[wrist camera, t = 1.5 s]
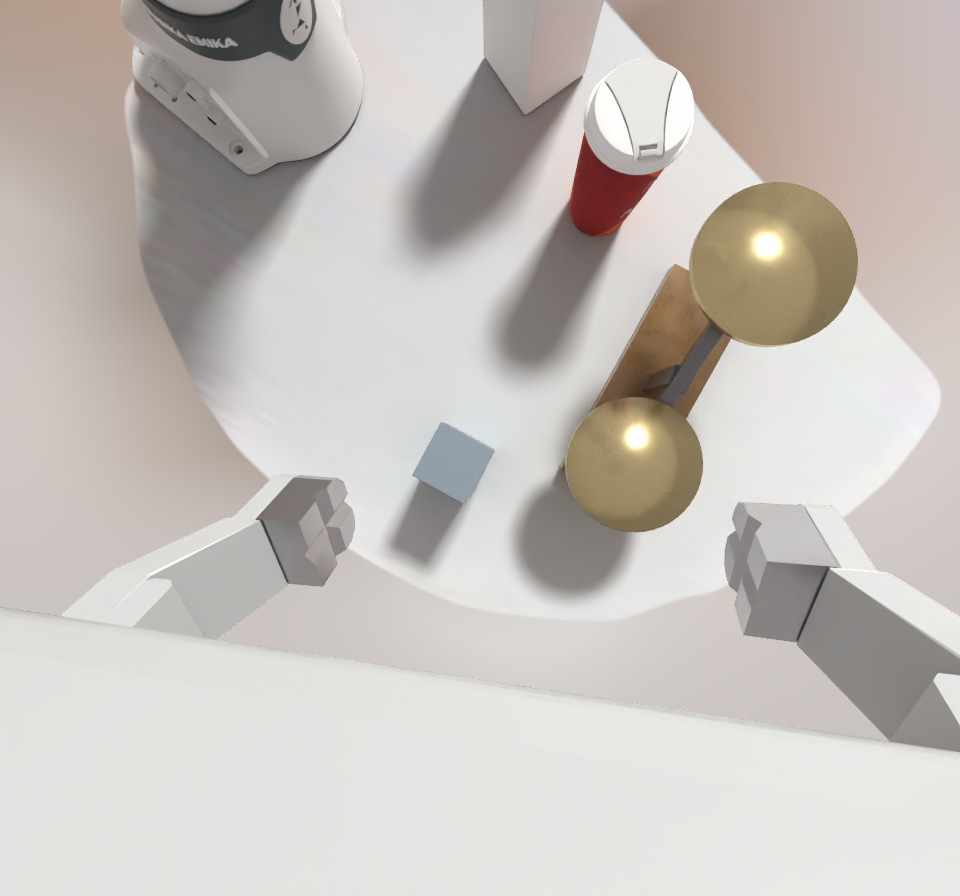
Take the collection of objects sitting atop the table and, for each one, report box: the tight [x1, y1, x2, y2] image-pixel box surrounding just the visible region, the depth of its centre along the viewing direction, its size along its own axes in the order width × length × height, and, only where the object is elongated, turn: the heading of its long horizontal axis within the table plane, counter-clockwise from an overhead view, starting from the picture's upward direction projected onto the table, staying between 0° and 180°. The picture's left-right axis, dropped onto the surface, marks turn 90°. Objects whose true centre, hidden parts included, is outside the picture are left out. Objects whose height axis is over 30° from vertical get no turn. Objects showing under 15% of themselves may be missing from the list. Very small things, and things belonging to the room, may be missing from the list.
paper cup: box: [569, 58, 694, 236], centre depth 39 cm, size 8×8×14 cm
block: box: [412, 422, 495, 504], centre depth 43 cm, size 5×5×8 cm
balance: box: [559, 182, 858, 532], centre depth 39 cm, size 11×27×14 cm, turn 151°
